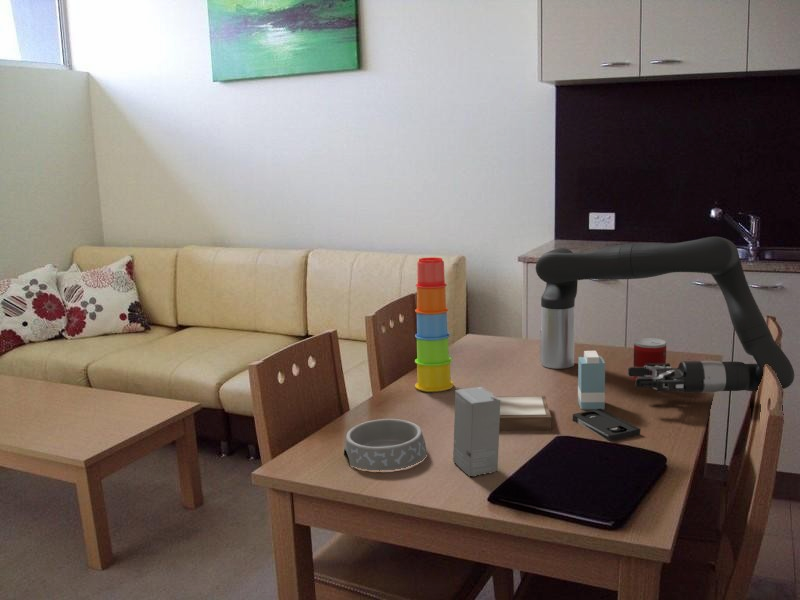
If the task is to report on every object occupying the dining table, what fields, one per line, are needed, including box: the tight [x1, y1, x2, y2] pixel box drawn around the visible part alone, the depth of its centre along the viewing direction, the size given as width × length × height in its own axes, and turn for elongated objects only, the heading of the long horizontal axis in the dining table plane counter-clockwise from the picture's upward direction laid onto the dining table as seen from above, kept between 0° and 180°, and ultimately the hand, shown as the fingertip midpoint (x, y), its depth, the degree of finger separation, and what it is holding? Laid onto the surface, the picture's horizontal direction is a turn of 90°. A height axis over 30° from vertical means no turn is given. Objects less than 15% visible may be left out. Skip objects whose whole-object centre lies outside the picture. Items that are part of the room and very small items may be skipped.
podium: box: [494, 395, 552, 431], centre depth 179 cm, size 14×14×3 cm
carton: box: [577, 350, 606, 410], centre depth 185 cm, size 6×6×13 cm
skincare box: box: [452, 386, 500, 477], centre depth 153 cm, size 8×7×16 cm
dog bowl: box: [343, 418, 428, 471], centre depth 163 cm, size 17×18×5 cm
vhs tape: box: [572, 408, 641, 442], centre depth 172 cm, size 14×8×2 cm, turn 22°
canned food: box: [632, 337, 667, 383], centre depth 200 cm, size 8×8×11 cm
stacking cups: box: [414, 257, 454, 393], centre depth 201 cm, size 10×10×35 cm
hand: (632, 377), depth 184 cm, fingers open, 8 cm apart
